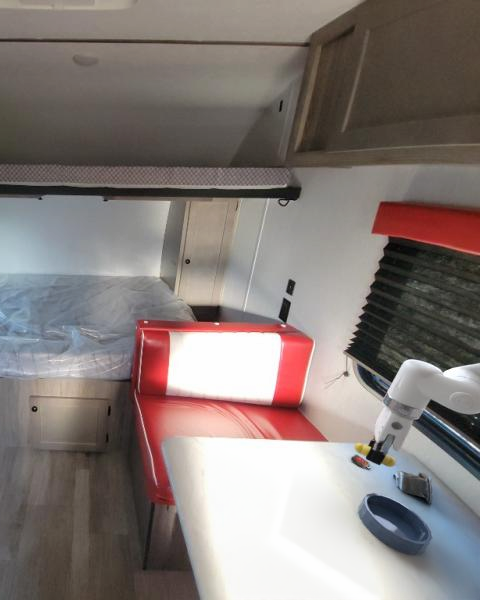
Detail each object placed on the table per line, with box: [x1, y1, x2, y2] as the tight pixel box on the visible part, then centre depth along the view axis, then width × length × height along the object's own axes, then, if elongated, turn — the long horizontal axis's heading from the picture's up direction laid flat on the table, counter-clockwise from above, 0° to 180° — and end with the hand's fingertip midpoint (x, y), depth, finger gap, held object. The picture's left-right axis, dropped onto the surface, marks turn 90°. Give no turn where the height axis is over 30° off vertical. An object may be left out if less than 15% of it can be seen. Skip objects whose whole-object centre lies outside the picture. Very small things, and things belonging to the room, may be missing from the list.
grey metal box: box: [392, 470, 434, 505], centre depth 96 cm, size 10×7×12 cm
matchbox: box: [350, 453, 371, 470], centre depth 103 cm, size 5×5×1 cm
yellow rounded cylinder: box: [353, 442, 396, 468], centre depth 93 cm, size 9×3×3 cm, turn 50°
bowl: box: [357, 492, 433, 556], centre depth 83 cm, size 13×13×4 cm
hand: (372, 457), depth 93 cm, fingers closed on yellow rounded cylinder, 3 cm apart
